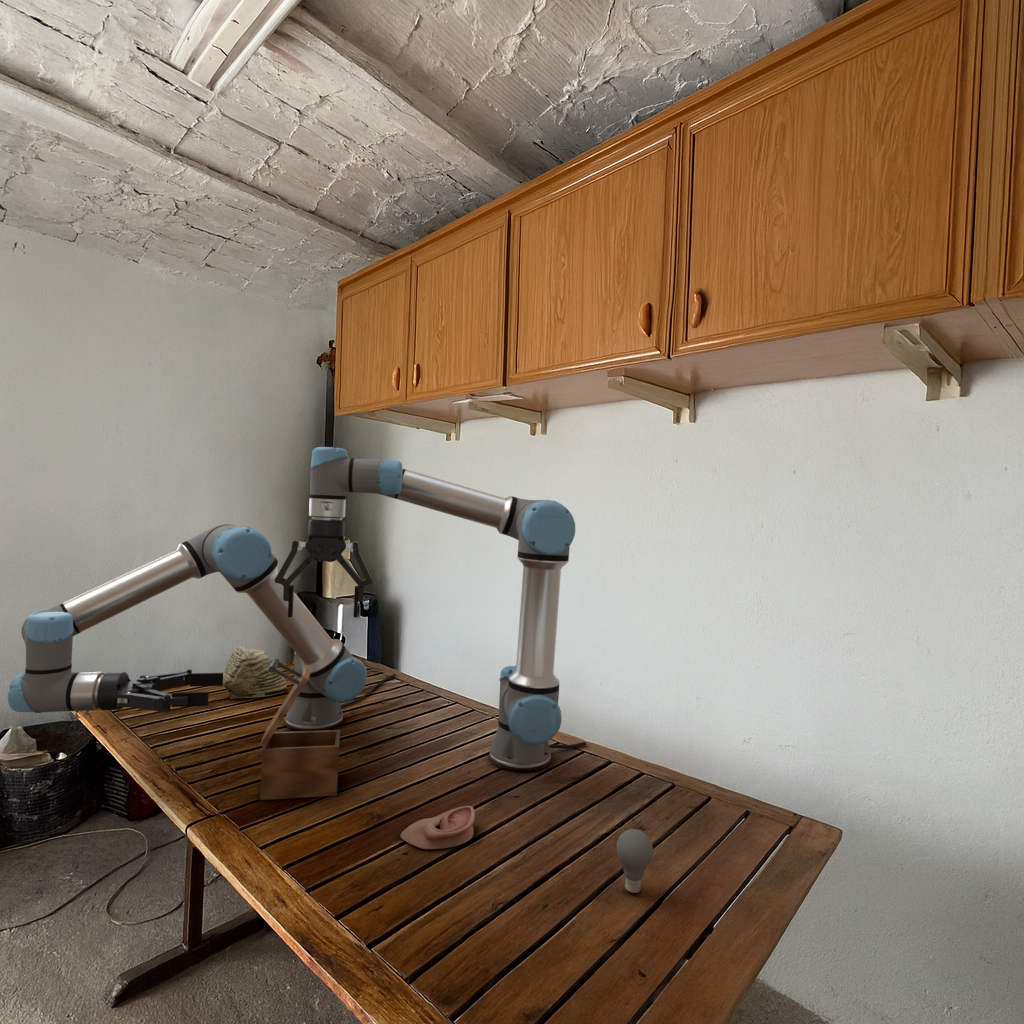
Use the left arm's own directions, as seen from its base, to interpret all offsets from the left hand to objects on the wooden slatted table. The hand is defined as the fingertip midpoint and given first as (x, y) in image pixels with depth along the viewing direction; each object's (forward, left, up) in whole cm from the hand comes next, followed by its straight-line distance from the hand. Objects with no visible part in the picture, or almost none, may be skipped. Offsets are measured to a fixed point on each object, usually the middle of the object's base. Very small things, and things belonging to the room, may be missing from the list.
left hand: (216, 688), depth 133 cm
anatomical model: (-21, +47, -22) cm, 55 cm away
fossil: (-39, -54, -22) cm, 70 cm away
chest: (-14, +11, -22) cm, 28 cm away
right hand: (-17, +13, +15) cm, 26 cm away
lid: (-12, +9, -4) cm, 15 cm away
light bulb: (-30, +83, -22) cm, 91 cm away
